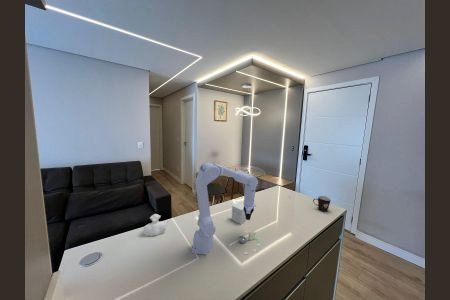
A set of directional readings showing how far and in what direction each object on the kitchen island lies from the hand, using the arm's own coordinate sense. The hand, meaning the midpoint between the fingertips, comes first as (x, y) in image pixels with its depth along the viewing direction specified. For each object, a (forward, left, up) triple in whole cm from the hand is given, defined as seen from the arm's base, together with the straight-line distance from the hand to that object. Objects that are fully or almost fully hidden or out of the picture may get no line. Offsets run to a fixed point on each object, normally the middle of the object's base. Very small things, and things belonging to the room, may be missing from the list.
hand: (247, 219), depth 94 cm
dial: (-2, -6, -10) cm, 12 cm away
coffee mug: (+56, +47, -11) cm, 74 cm away
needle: (0, -4, -10) cm, 11 cm away
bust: (-51, -9, -11) cm, 53 cm away
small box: (-6, +14, -11) cm, 19 cm away
